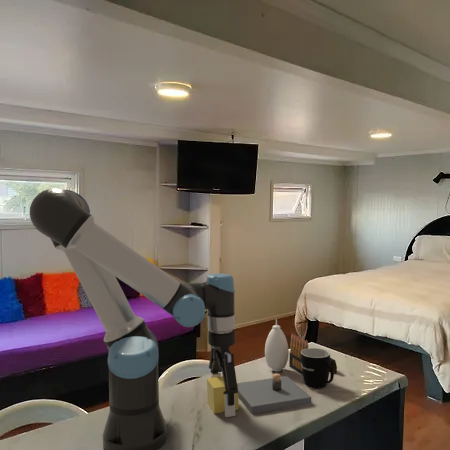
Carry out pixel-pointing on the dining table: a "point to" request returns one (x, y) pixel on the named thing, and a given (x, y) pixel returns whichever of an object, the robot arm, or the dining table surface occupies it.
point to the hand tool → (333, 365)
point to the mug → (316, 367)
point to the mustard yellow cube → (217, 395)
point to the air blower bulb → (276, 349)
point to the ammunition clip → (296, 352)
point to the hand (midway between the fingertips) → (222, 405)
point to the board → (272, 394)
